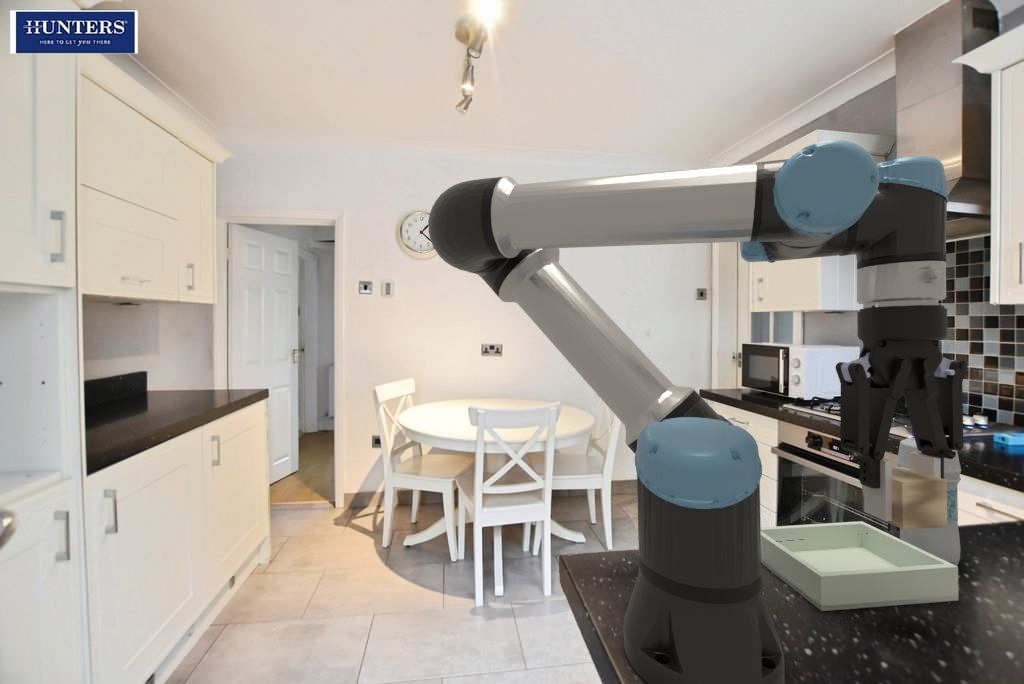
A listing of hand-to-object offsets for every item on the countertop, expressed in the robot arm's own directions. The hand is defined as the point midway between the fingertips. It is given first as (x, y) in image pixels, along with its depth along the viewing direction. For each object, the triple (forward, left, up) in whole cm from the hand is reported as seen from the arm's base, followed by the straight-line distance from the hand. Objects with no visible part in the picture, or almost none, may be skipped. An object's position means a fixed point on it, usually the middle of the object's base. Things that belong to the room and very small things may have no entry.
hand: (901, 514), depth 50 cm
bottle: (+14, +15, -13) cm, 24 cm away
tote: (0, +10, -12) cm, 16 cm away
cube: (0, 0, 0) cm, 0 cm away
